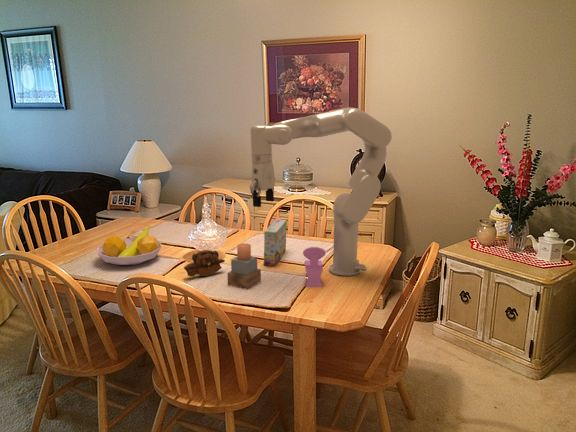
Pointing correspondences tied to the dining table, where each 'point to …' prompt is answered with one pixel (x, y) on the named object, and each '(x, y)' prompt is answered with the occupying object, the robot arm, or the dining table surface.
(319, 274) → the pink tall piece
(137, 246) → the fruit bowl
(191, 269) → the wooden carving
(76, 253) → the dining table surface
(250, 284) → the walnut slab
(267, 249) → the snack box
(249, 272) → the slate block
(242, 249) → the terracotta cylinder
